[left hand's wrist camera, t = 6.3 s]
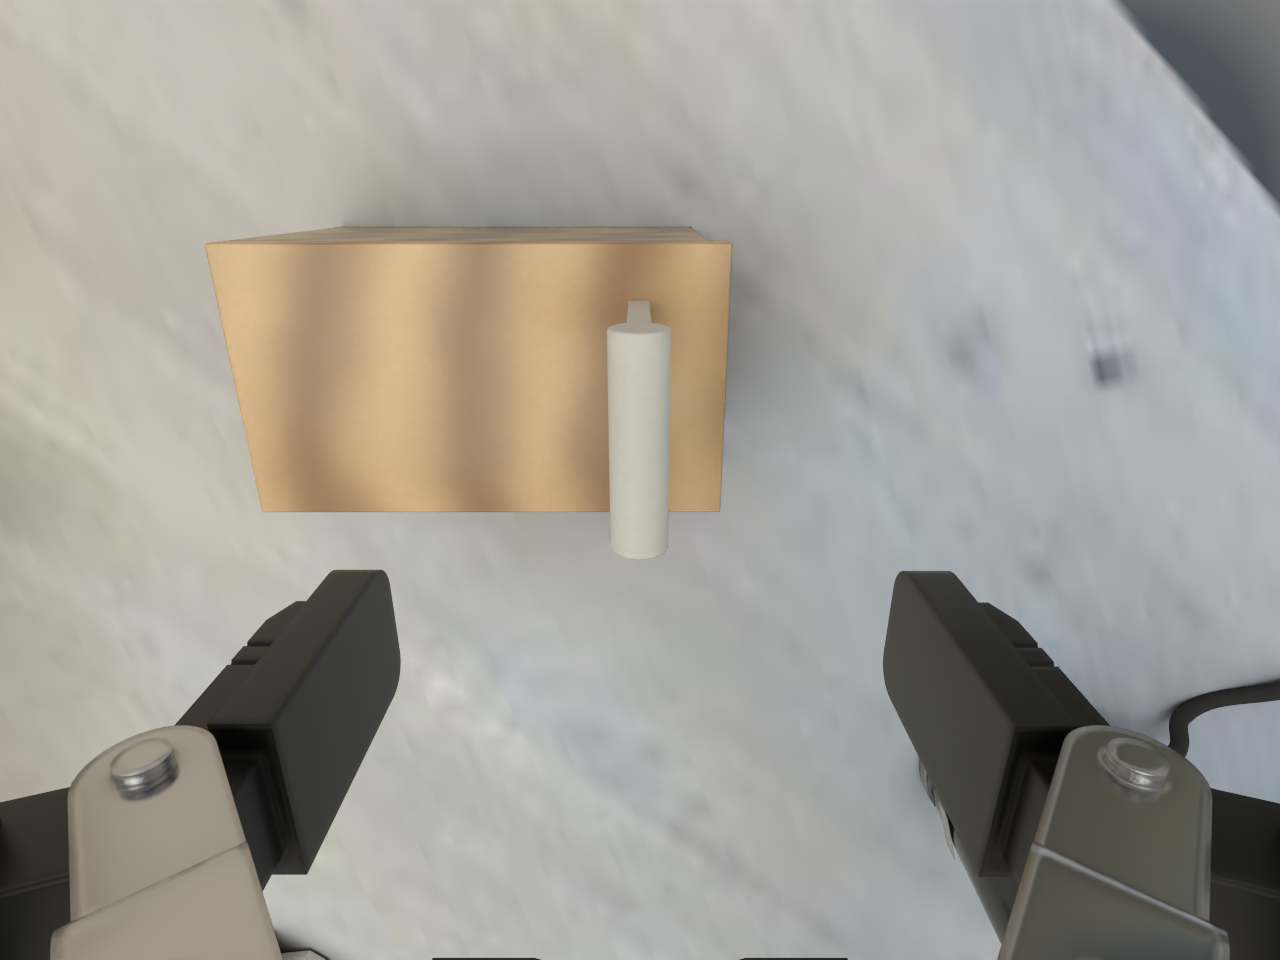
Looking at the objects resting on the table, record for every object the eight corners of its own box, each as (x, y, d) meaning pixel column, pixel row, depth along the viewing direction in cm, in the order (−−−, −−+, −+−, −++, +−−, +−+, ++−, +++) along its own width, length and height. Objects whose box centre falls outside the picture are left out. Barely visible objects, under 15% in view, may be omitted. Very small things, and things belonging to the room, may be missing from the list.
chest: (690, 226, 34) (710, 240, 25) (685, 421, 38) (701, 498, 28) (340, 226, 34) (225, 240, 25) (369, 421, 38) (278, 498, 28)
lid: (727, 240, 25) (767, 262, 17) (716, 498, 28) (745, 612, 21) (224, 240, 25) (39, 262, 17) (278, 498, 28) (144, 612, 21)
